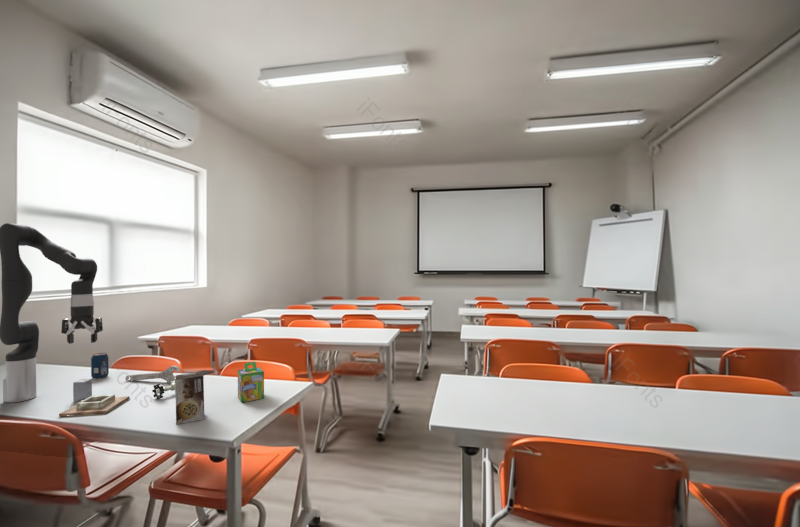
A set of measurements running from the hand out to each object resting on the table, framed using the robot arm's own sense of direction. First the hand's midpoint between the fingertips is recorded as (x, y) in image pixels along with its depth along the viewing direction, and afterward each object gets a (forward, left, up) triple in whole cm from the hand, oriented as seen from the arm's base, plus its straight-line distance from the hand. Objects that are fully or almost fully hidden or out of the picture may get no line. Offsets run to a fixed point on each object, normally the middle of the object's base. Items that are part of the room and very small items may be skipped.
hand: (82, 342), depth 159 cm
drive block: (0, 0, -24) cm, 24 cm away
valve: (+35, -2, -24) cm, 43 cm away
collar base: (+12, -12, -24) cm, 29 cm away
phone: (+35, +28, -25) cm, 51 cm away
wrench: (+18, +21, -24) cm, 37 cm away
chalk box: (+71, -13, -24) cm, 76 cm away
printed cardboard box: (+54, -32, -24) cm, 67 cm away
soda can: (-13, +35, -24) cm, 45 cm away
